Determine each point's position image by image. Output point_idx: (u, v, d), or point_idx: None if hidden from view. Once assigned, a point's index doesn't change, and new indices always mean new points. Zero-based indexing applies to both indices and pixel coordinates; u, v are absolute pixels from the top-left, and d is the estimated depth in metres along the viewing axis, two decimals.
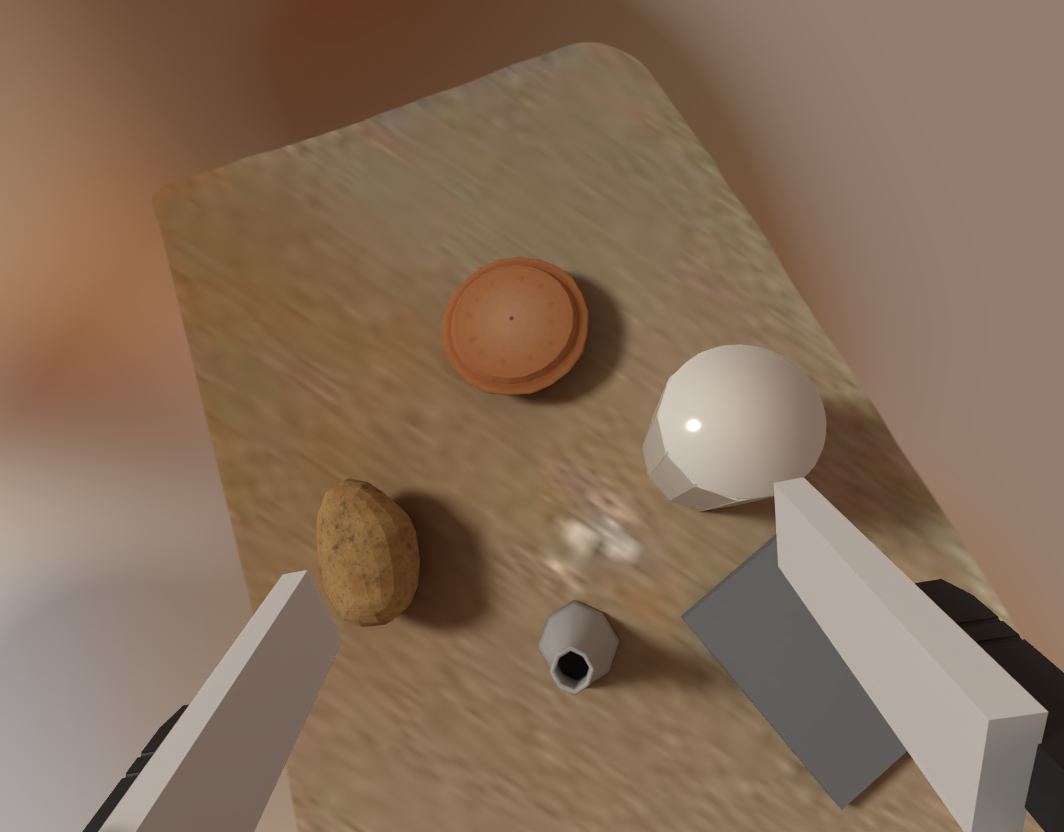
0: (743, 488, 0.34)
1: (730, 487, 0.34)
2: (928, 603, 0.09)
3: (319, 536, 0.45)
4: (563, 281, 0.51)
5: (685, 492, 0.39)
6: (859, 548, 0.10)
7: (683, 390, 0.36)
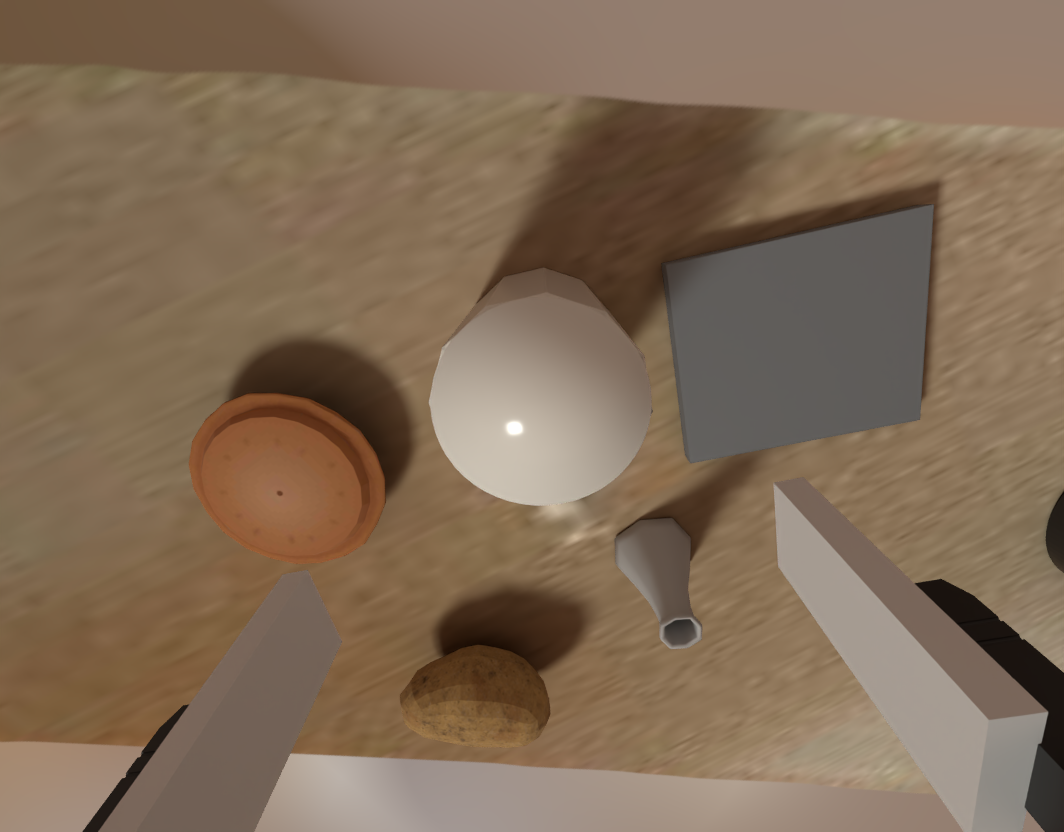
0: (621, 454, 0.26)
1: (612, 466, 0.26)
2: (928, 603, 0.09)
3: (445, 741, 0.46)
4: (250, 407, 0.37)
5: None
6: (859, 548, 0.10)
7: (470, 453, 0.26)
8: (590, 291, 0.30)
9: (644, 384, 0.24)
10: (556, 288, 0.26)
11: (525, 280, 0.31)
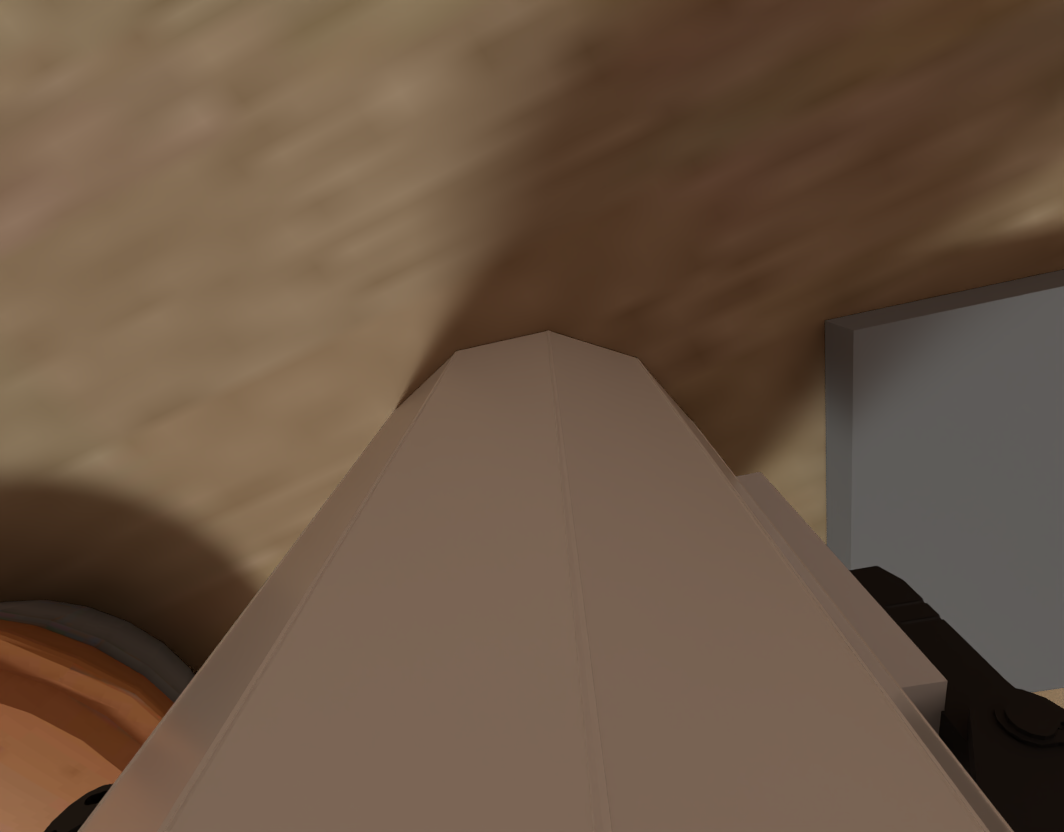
0: None
1: None
2: (857, 586, 0.09)
3: None
4: None
5: None
6: (802, 537, 0.11)
7: None
8: (701, 447, 0.10)
9: None
10: (623, 551, 0.05)
11: (495, 408, 0.10)
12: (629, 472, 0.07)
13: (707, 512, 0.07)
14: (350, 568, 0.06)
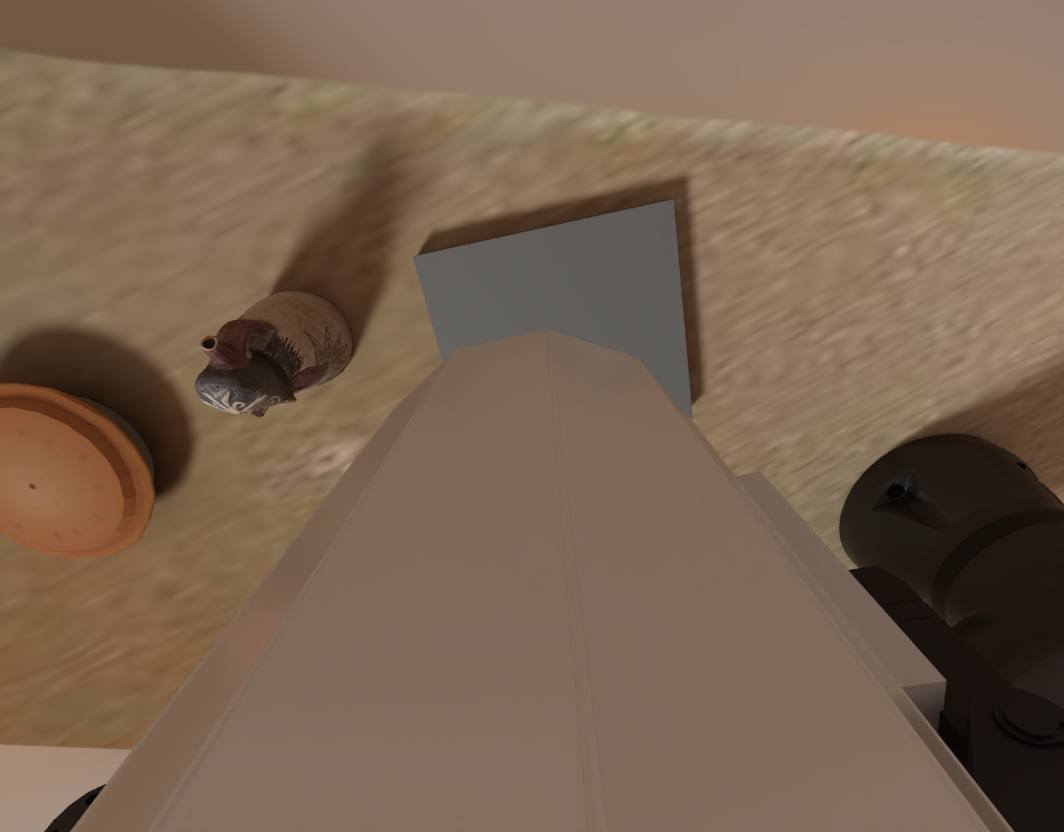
0: None
1: None
2: (856, 586, 0.09)
3: None
4: None
5: None
6: (801, 537, 0.11)
7: None
8: (700, 445, 0.10)
9: None
10: (620, 548, 0.05)
11: (493, 406, 0.10)
12: (627, 470, 0.07)
13: (706, 510, 0.07)
14: (346, 565, 0.06)
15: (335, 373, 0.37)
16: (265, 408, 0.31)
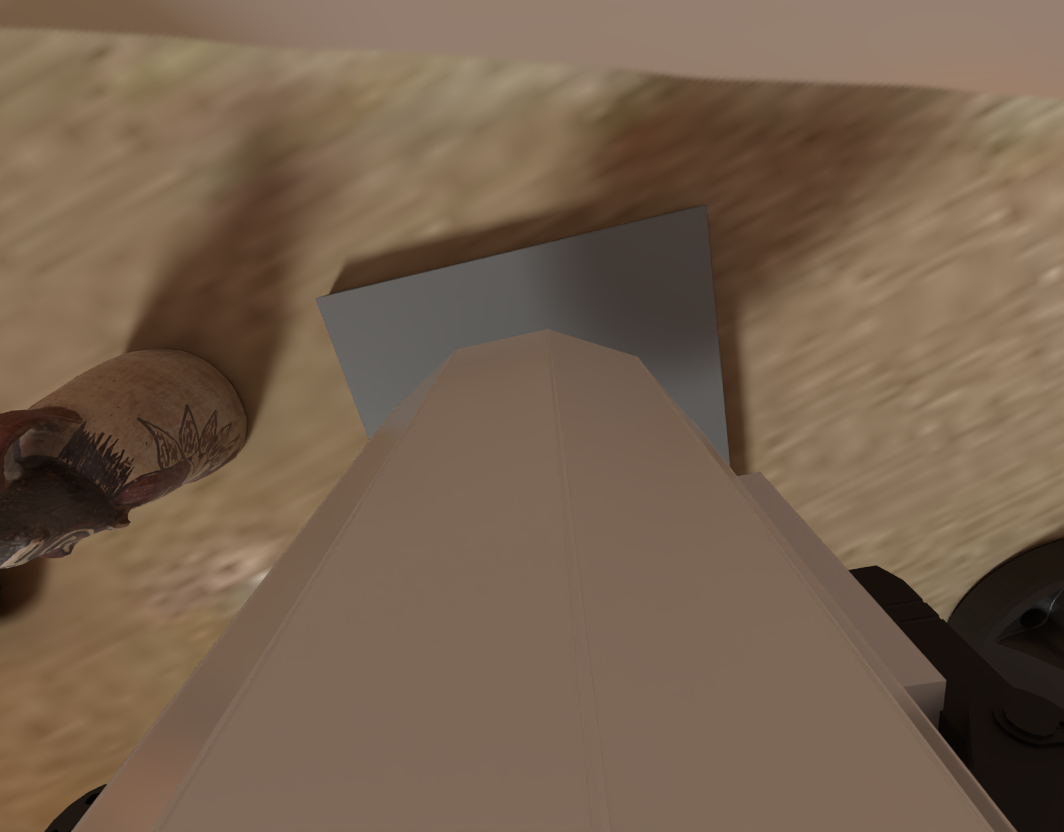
0: None
1: None
2: (856, 586, 0.09)
3: None
4: None
5: None
6: (801, 537, 0.11)
7: None
8: (702, 445, 0.10)
9: None
10: (622, 548, 0.05)
11: (494, 406, 0.10)
12: (629, 469, 0.07)
13: (707, 510, 0.07)
14: (347, 566, 0.06)
15: (216, 465, 0.25)
16: (68, 545, 0.20)
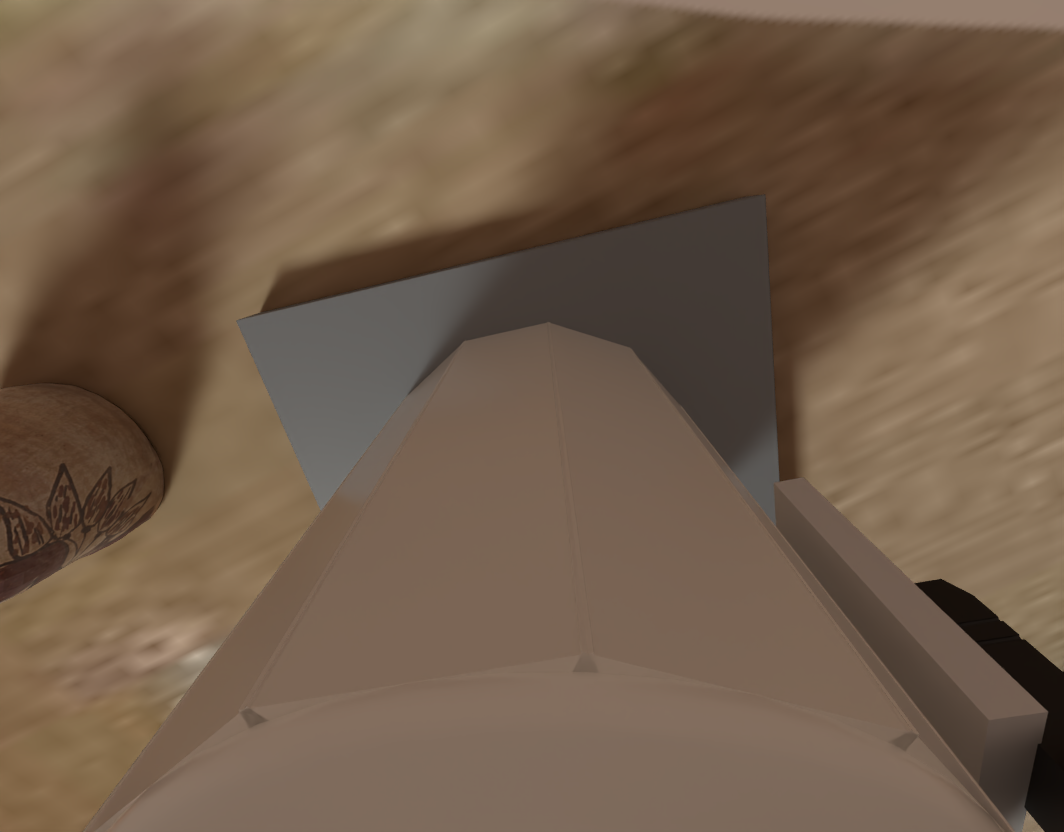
0: None
1: None
2: (928, 603, 0.09)
3: None
4: None
5: None
6: (859, 548, 0.10)
7: None
8: (682, 419, 0.11)
9: None
10: (608, 485, 0.07)
11: (502, 386, 0.11)
12: (616, 433, 0.09)
13: (681, 464, 0.08)
14: (389, 502, 0.07)
15: (118, 533, 0.20)
16: None
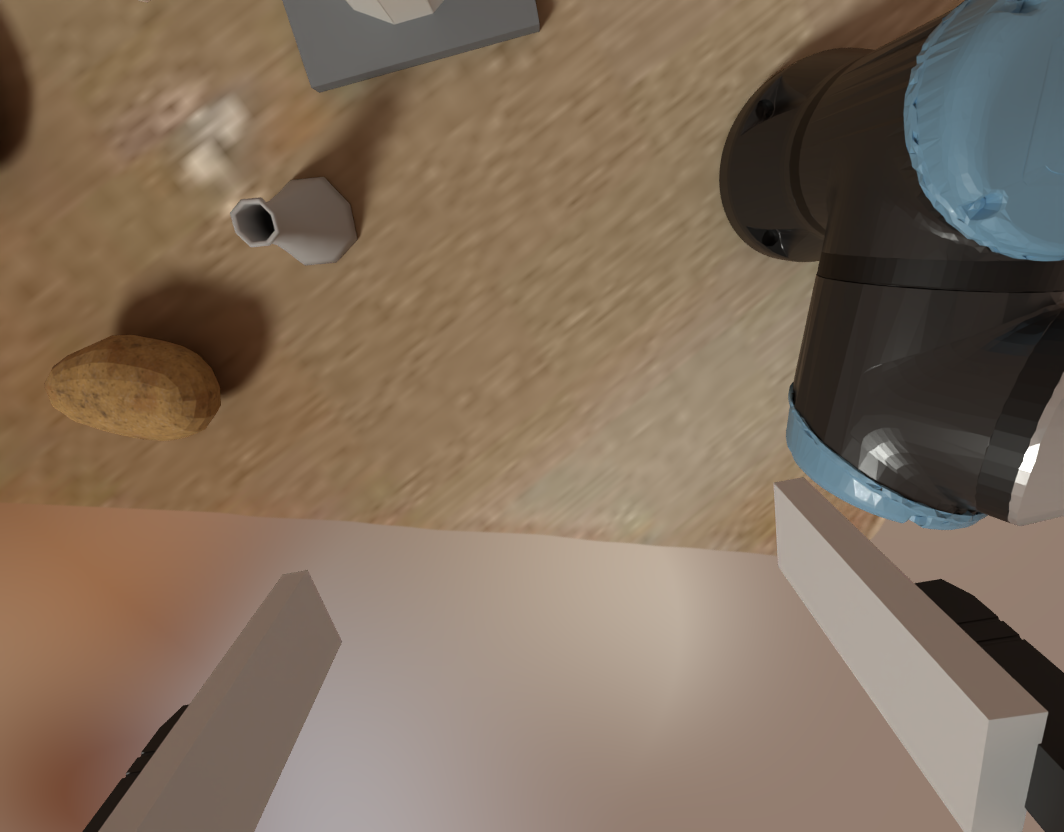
0: None
1: None
2: (928, 603, 0.09)
3: (98, 427, 0.43)
4: None
5: None
6: (859, 548, 0.10)
7: None
8: None
9: None
10: None
11: None
12: None
13: None
14: None
15: None
16: None
